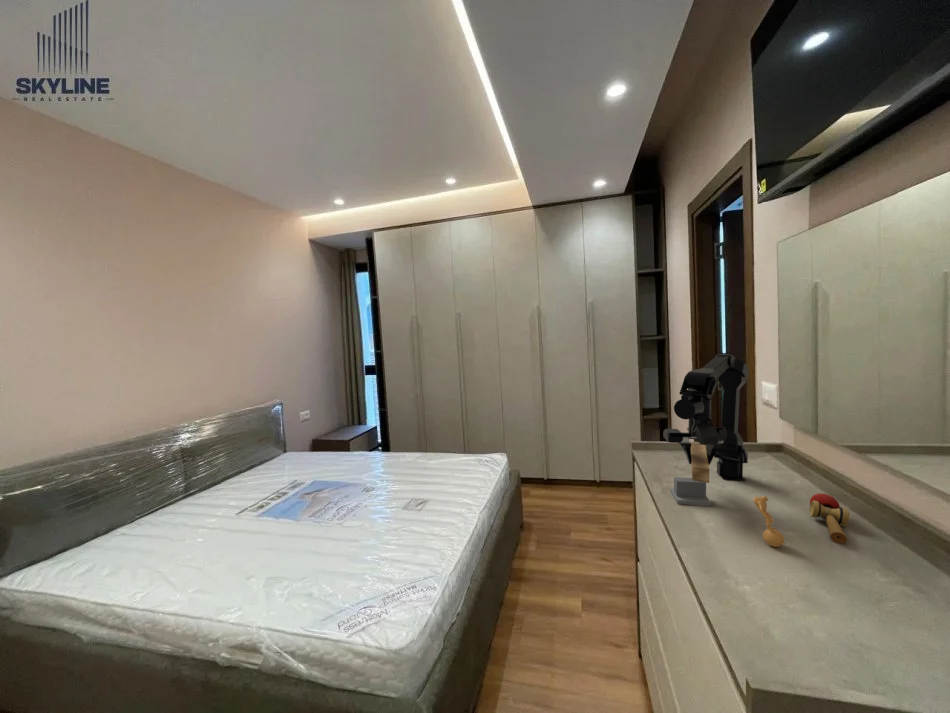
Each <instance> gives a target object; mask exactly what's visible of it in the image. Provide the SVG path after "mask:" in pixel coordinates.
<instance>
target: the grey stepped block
mask: <svg viewBox="0 0 950 713" xmlns="http://www.w3.org/2000/svg"><path fill="white" fill-rule="evenodd" d="M669 492H670V494H671V496H672V498H673V499H674V501H675V502H676V504H677V505H687V504H688V505H689V504H690V505H689V506H701V507H702V506H705V507H711V506H712V501H711V500H710V499H709V498H708V496H707V483H705V482H698V481H692V477H681V476H680V477H678V476H677V477H676V476H674V477H673V487H672V488H671V487H669Z"/></svg>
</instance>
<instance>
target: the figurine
mask: <svg viewBox="0 0 950 713" xmlns="http://www.w3.org/2000/svg"><path fill="white" fill-rule="evenodd" d="M752 501H753V504H754V505H755V506H756V507H757V509H758V511H759V512H760V513H761V514H762V516H763V518H764V519H765V524H766V525H765V526H766V527H767V528H766V529H765V530H764V531H763V533H762V538H763V540H764V542H765V543H766V544H767V545H769V546H770V547H775V548H780V547H782V546H783V545H784V544H785V537H784V534H782V532H780V531H779V530H778V529H775V527H772V526H771V525H772V524H773V523H775V521H774V519H773V516H772V515H771V514H770V513H769V512H768V511H767V510H768V505H767V501H769V499H768V497H767V496H766V495H763V496H755V497H753V499H752Z"/></svg>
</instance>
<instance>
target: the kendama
mask: <svg viewBox="0 0 950 713" xmlns="http://www.w3.org/2000/svg"><path fill="white" fill-rule="evenodd" d="M809 516H810V517H812V518H814V519H817V518H820V517H822V518H825V519H826V520H825V521H826V525H827V528H828V533H829V538H830V539H831V541H832V542H834V543H837V544H841V545H842V544H845V543H846V542H847V541H848V538H847V535H846V534H845V533H844V530H843V529H842V527H843V528H846V527H847V526H848V525H849V523H850V510H849V509H848V508H846V507H843V506H840V503H839V501H838V500H837V498H835V497H834V496H831V495H830V494H827V493H820V492H819V493H816V494H815V493H814V494H813V495H812V496H811V497H810V498H809Z"/></svg>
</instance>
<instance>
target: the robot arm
mask: <svg viewBox="0 0 950 713" xmlns="http://www.w3.org/2000/svg"><path fill="white" fill-rule="evenodd" d="M749 370H750V369H749V366H747V364H746V362H744V361H743V360H740V359H738V358H736V357H735V355H732V354H721V353H719V354H715V355H714V356H713V358H712V359H711V360H710V361H709V362H708V363H707V364H705V365H704V366H702V367H701V368H697V369H692V370H690V371H688V372H687V373H686V375H685V376H684V378H683V381H682V385H681V388H680V390H679V395H680V399H679V400H677V401H676V402H675V403H674V406H673V410H674V413H675V415H676V416H677V417H678V418H680V419H681V420H688V427H687V428H686V429H687V431H688V432H687V431H686V432H681V431H680V430H679V429H678V428H665V429H664V430H663V432H662V434H663V435H662V436H663V438H664V439H665V440H666V442H668V443H675V444H676V443H677V444H679V445H680V446H681V448H682V449H683V452H684V454H685V458H686V459H687V462H688V464H689V465H691V460H692V459H691V445H692V444H693V443H691V442H690V440H697V441H698V443H699V445H705V446H706V454H707V459H708V464H709V466H710V465H711V463H712V461H713V458H714V459H715V458H716V459H718V461H716V474H718V476H719V477H721V478H722V480H730V481H746V479H745V477H744V473H743V471H744V464H748V463H749V462H748V461H749V460H748V459H749V453H748V452H747V449H746V448H745V446H744V439H743V438H742V436H741V434H740V433H739V431H738V430H739V412H740V396H741V395H740V394H741V392H740V390H741V388H742V387H744V385H745V384H746V383H747V378H748V376H749V374H750V373H749V372H750V371H749ZM718 382H719V385H721V387H722V408H721V423H720V424H721V426H720V427H719V426H718V427H717V426H716V427H715V426H714V421H713V418H712V398H713V396H714V393H715V390H716V388H717V386H718Z"/></svg>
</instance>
